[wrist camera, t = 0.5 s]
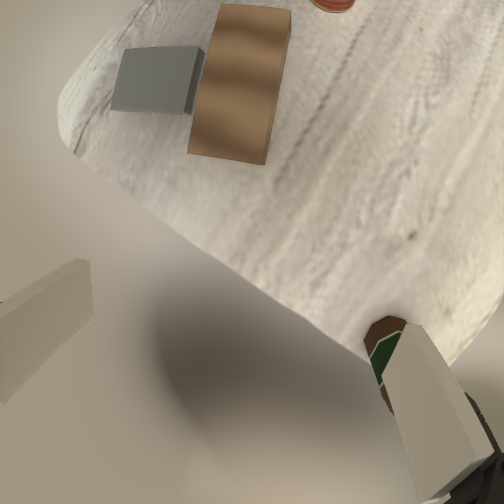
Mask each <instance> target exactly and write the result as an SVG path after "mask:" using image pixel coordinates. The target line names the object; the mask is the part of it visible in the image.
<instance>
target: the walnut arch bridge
mask: <svg viewBox="0 0 504 504" xmlns="http://www.w3.org/2000/svg"><path fill="white" fill-rule="evenodd" d="M290 33H291V10H287V9H280V8H272V7H263V6H251V5H234V4H221V7H220V10H219V13H218V17H217V20H216V24H215V27H214V31H213V35H212V38H211V42H210V46H209V50H208V54H207V58H206V62H205V66H204V71H203V75H202V79H201V84H200V88H199V93H198V98H197V103H196V107H195V112H194V118H193V123H192V128H191V134H190V139H189V145H188V151H187V153H188V154H195V155H203V156H209V157H216V158H223V159H229V160H235V161H241V162H246V163H252V164H257V165H265V161H266V155H267V150H268V145H269V140H270V135H271V129H272V124H273V119H274V114H275V109H276V104H277V99H278V94H279V88H280V83H281V78H282V73H283V68H284V63H285V58H286V53H287V48H288V43H289V38H290Z"/></svg>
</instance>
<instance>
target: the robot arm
mask: <svg viewBox="0 0 504 504" xmlns="http://www.w3.org/2000/svg"><path fill="white" fill-rule="evenodd" d="M94 316H95V313H94V305H93V295H92V284H91V271H90V261H88V260H85V259H81V258H75V259H73V260H72V261H70V262H68V263H66V264H64V265H63V266H61V267H59V268H57V269H56V270H54V271H52V272H50V273H49V274H47V275H45V276H44V277H42V278H40V279H39V280H37V281H35V282H34V283H32V284H30V285H29V286H27V287H26V288H24V289H22V290H21V291H19V292H17V293H16V294H14V295H13V296H11V297H10V298H8V299H6V300H5V301H3V302H1V303H0V404H1V405H2V406H4V405H5V404H6V403H7V402H8V401H9V400H10V399H11V398H12V397H13V396H14V394H15V393H16V392H17V391H18V390H19V389H20V388H21V387H22V386H23V385H24V384H25V383H26V382H27V381H28V380H29V379H30V378H31V377H32V376H33V375H34V374H35V373H36V372H37V371H38V370H39V369H40V368H41V367H42V366H43V365H44V364H45V363H46V362H47V361H48V360H49V359H50V358H51V357H52V356H53V355H54V354H55V353H56V352H57V351H58V350H59V349H60V348H61V347H62V346H63V345H64V344H65V343H66V342H68V341H69V340H70V338H72V337H73V336H74V335H75V334H76V333H77V332H78V331H79V330H80V329H81V328H82V327H84V325H86V324H87V323H88V322H89V321H90V320H91V319H92V318H93V317H94ZM381 376H382V379H383V381H384V384H385V387H386V390H387V393H388V396H389V399H390V402H391V405H392V408H393V411H394V415H395V418H396V421H397V424H398V427H399V431H400V434H401V438H402V441H403V444H404V448H405V452H406V455H407V459H408V463H409V466H410V470H411V474H412V478H413V482H414V487H415V490H416V495H417V500H418V504H428V503H432V502H435V501H438V500H440V499H441V498H442V497H443V496H445V495H446V494H447V493H449V492H450V496H451V498H450V499H449V500H448V501H446V502H445V503H444V504H504V453H502V452H501V450H500V448H499V446H498V444H497V442H496V440H495V438H494V436H493V434H492V432H491V430H490V428H489V426H488V425H487V423H486V422H485V419H484V417H483V415H482V414H480V412H481V411H480V410H479V408H478V406H477V404H476V403H475V401H474V400H473V399H472V398H471V397H470V396H469V395H468V394H467V393H464V392H463V390H462V388H461V387H460V385H459V383H458V381H457V380H456V378H455V377H454V375H453V373H452V372H451V370H450V368H449V367H448V365H447V363H446V362H445V360H444V359H443V357H442V356H441V354H440V352H439V351H438V349H437V348H436V346H435V345H434V343H433V342H432V340H431V339H430V337H429V336H428V334H427V333H426V331H425V330H424V328H423V327H422V325H415V324H407V323H406V325H405V328H404V330H403V332H402V334H401V337H400V339H399V341H398V343H397V345H396V347H395V350H394V352H393V354H392V356H391V358H390V360H389V362H388V364H387V366H386V368H385V370H384V372H383V373H382V375H381Z"/></svg>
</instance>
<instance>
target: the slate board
mask: <svg viewBox="0 0 504 504" xmlns="http://www.w3.org/2000/svg"><path fill="white" fill-rule="evenodd" d="M204 54H205V53H204V52H203V51H202V50H201V49H200V47H150V48H136V49H125V50H124V54H123V57H122V61H121V65H120V69H119V72H118V76H117V81H116V85H115V89H114V94H113V98H112V103H111V108H110V109H111V110H116V111H125V112H154V113H170V114H183V115H191V110H192V105H193V101H194V96H195V91H196V87H197V83H198V78H199V74H200V70H201V66H202V62H203V58H204Z"/></svg>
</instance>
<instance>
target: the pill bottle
mask: <svg viewBox="0 0 504 504" xmlns="http://www.w3.org/2000/svg"><path fill="white" fill-rule="evenodd" d="M312 1H313V2H314V3H315V4H316V5H317V6H318V7H320V8H322V9H324V10H326V11H330V12H344V11H347V10H349V9H350V8H351V7H352V6H353V4H354V2H355V0H312Z"/></svg>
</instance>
